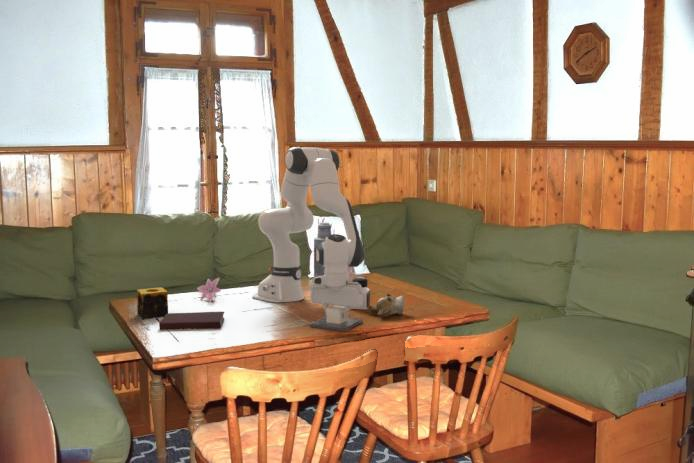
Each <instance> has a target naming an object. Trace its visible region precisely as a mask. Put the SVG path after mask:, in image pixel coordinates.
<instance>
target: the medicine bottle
mask: <svg viewBox="0 0 694 463" xmlns="http://www.w3.org/2000/svg"><path fill="white" fill-rule="evenodd" d="M352 282H358V283H359V284H361V286H362V298H363V304H362V306H361V307H358V308H353V307H350V310H364V311H365V309H369V307H370V305H371V289H370V288H368V279H367V278H365V277H355V278H353V279H352ZM359 284H358V285H359Z"/></svg>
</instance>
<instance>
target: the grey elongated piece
mask: <svg viewBox="0 0 694 463" xmlns="http://www.w3.org/2000/svg"><path fill="white" fill-rule="evenodd" d="M328 235H332V224H330V223H329V221H327V222H324V221H323V222H320V223H319V224H318V225H317V236H316V237H314V238H313V278H315V277H318V276H320V275H324V270H325V267H323V266H321V265H319V264H318V263H317V262H316V247H317V246H318V244H320V243H321V242H324V241H325V238H326V237H327V236H328Z"/></svg>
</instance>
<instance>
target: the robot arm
mask: <svg viewBox="0 0 694 463" xmlns="http://www.w3.org/2000/svg"><path fill="white" fill-rule="evenodd" d="M284 159H285V160H284V163H285V168H286V170H285V173H284V175H283V180H282V183H281V187H280V195H281V198H282V199H283V201H284V202H286V206H285V207H280V208H270V209H267V210H265V211H261V213H260V214H259V216H258V219H257V220H258V221H257V223H258V228H259V230H260V231H261V232H262V233H263V234H264V235H265V236H266V237H267V238H268V240H269V241H270V243H271V247H272V253H273V265H272V266H270V267H268V271H270V274H269V275H268V276H267V277H265V278H264V279H263V280H262V281H260V282H259V284H258V286H257V287H258V288H257V292H256V293H254V294H253V295H252V299H255V300H261V301H266V302H270V303H283V302H284V303H287V302H288V303H290V302H298V301H301V300H303V299H305V296H304V292H303V288H302V280H301V278H302V266H301V258H300V257H301V252H300V251H301V250H300V247H299V246H298V244H296V243H294V242H293V241H292V240H291V236H290V234H297V233H302V232H306V231H308V230H310V229H311V228H312V226H313V224H314V218H315V217H314V213H313V212H312V210H311V209H309V207H308V203H307V198H308V194H309V190H310V195H311V200H312V202H313V204H314V206H316V207H317V208H318V209H321V210H322V211H325V212H327V213H331V214H333V215H336V216H337V217H338V218H340V219H341V221H342V223H343V226H344V230H345V234H346V236H345V235H342V234H338V233H337V234H336V233H335V234H333V233H331V235H328V236H327V237H326V238H325V241H324V242H321V243H320V244H318V246H317V247H316V262H317V263H318V264H319V265H321V266H323V267H325V270H324V275H320V276H318V277H315V278H314V277H313V278H312V280H311V283H312V285H311V287H310V301H311V302H312V303H313V304H322V307H323V308H322V309H323V310H324V311H325V312H326V308H328V307H330V306H333V305H335V306H344V309H346V310H345V312H344V313H342V318H349V315H348V314H349V312H350V310H351V309H350V307H353V308H358V307H361V306H362V304H363V298H362V286H361V284H359V283H358V282H352V281H351V280H349V268H348V267H351V268H357V267H359V266H360V265H361V264H362V263H363V262H364V261H365V257H366V256H365V254H366V252H365V251H366V250H365V248H364V245H363V243H362V240H361V237H360V234H359V229H358V225H357V221H356V218H355V215H354V211H353V208H352V206H351V205H352V204H351V203H350V201H349V200H348V199H346V197H344V195H343V193H342V192H341V189H340V181H339V176H338V170H339V168H340V162H341V160H340V156H339V154H338V152H337V151H335V150H333V149H330V148H321V147H316V146H314V147H313V146H311V147H310V146H309V147H307V146H306V147H305V146H304V147H303V146H302V147H300V146H293V147H290V148H289V149H288V150H287V152H286V154H285V158H284ZM358 284H359V285H358Z"/></svg>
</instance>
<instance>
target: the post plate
mask: <svg viewBox="0 0 694 463" xmlns="http://www.w3.org/2000/svg"><path fill="white" fill-rule="evenodd" d="M360 323H361V324H363V319H361V318H354V317H347V321H345V322H343V323H341V324H336V323H328V322H327V321H326V316H324V317H322V318H320V319H317V320H316V321H313V322H311V323H309V326H310V328H316V329H322V328H323V330H329V331H338V332H342V333H343V332H346V331H349V330H351V329H352V327H353V328H354V326H355V327H356V325H357V326H358V324H359V325H360ZM350 328H351V329H350Z"/></svg>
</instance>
